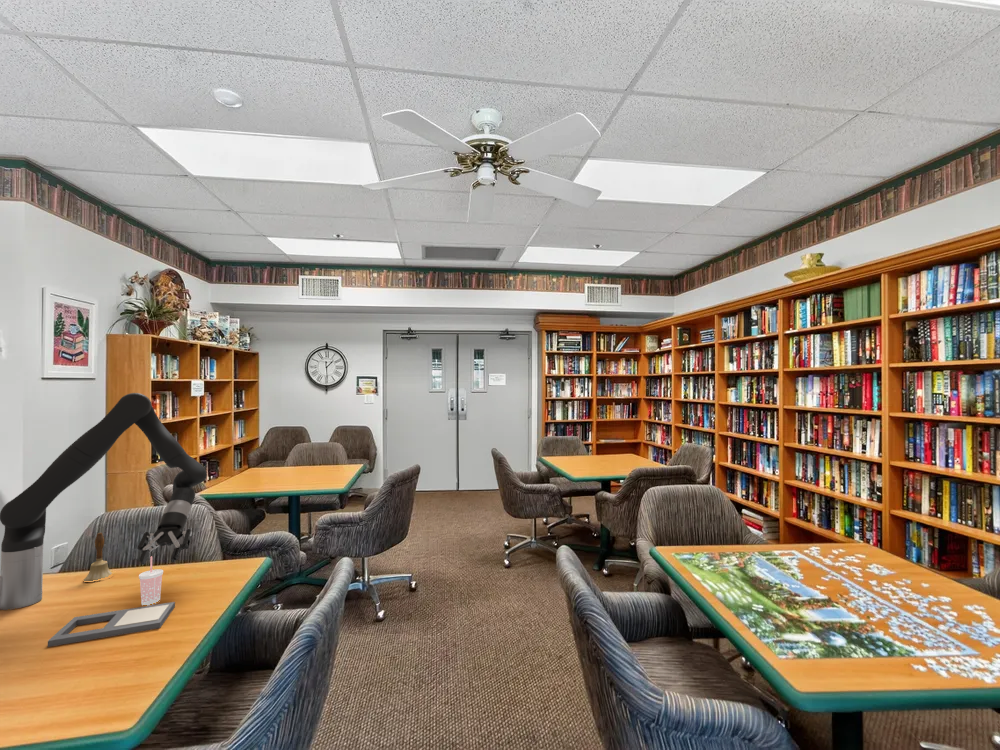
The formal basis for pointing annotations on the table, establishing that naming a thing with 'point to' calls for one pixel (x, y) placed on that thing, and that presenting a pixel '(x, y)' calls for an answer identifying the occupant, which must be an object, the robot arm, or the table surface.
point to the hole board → (114, 623)
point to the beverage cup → (150, 585)
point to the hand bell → (98, 562)
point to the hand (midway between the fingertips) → (157, 562)
